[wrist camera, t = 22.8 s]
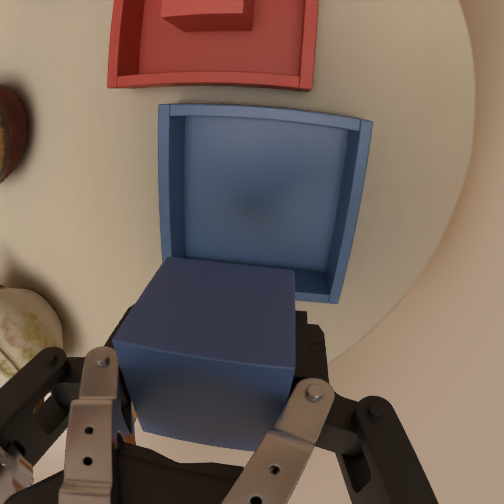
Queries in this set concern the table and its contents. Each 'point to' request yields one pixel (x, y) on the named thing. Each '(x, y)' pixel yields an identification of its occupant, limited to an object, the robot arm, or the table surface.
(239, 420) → the blue block
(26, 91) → the table surface
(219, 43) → the red bin
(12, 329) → the sugar bowl
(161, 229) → the blue bin
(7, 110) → the vase
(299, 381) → the robot arm
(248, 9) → the red block
